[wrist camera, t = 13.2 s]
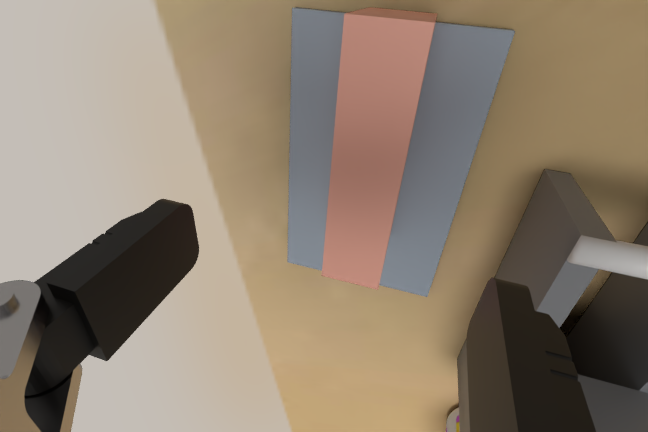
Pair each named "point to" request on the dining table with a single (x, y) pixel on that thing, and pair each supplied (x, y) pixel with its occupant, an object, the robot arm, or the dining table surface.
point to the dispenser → (567, 287)
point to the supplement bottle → (453, 421)
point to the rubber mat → (424, 150)
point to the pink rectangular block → (372, 136)
